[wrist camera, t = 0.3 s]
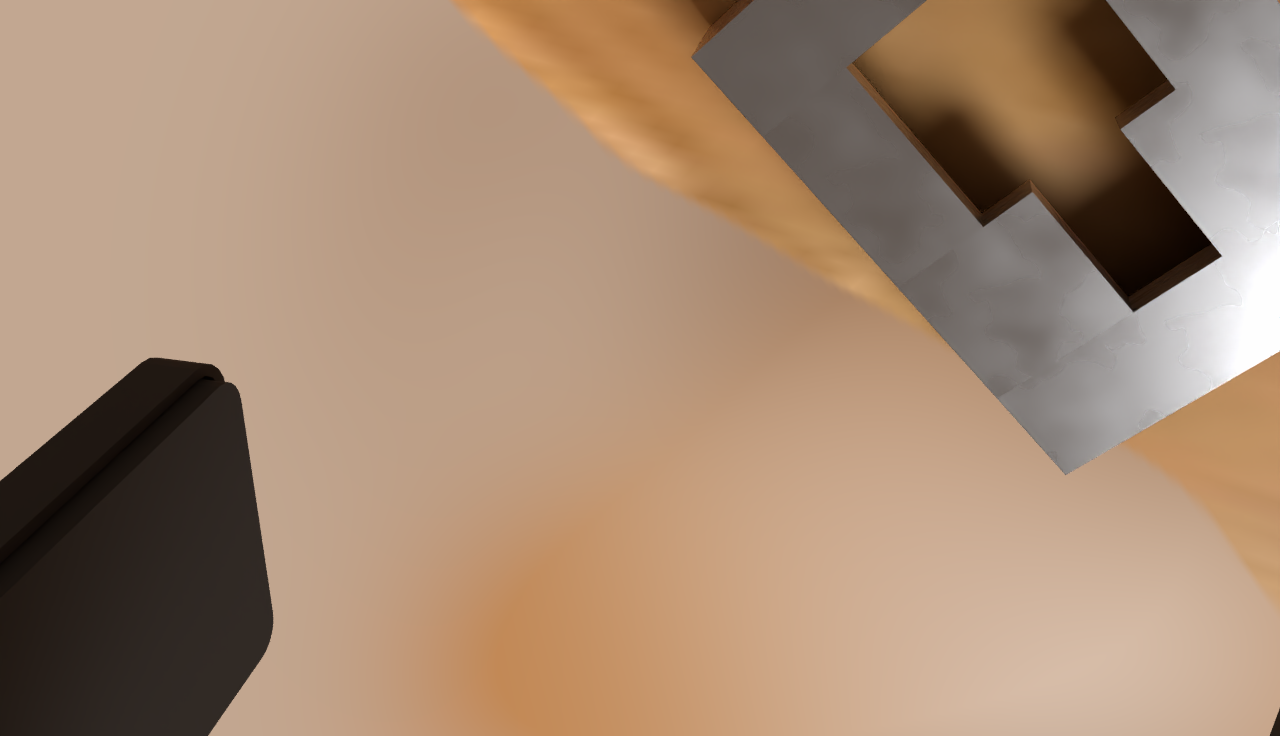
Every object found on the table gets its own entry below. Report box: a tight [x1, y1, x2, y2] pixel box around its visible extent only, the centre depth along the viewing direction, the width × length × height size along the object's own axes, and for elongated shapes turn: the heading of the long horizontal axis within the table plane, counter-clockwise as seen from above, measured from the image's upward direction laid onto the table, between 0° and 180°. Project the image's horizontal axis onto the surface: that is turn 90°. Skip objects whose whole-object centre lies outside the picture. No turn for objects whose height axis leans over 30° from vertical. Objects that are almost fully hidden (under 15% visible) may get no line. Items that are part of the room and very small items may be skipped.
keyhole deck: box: [692, 0, 1280, 475], centre depth 40 cm, size 20×14×4 cm
